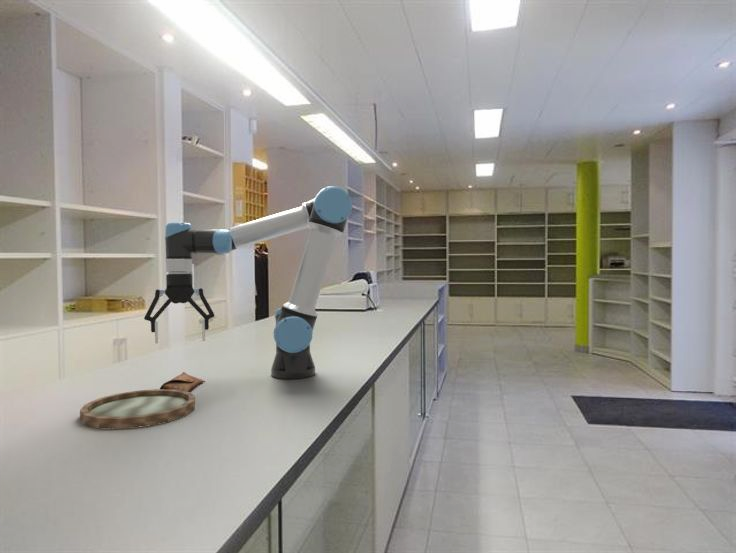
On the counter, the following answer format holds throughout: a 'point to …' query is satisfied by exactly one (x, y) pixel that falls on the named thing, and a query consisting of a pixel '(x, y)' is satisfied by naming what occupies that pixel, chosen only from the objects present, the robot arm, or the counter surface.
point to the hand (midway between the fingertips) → (180, 341)
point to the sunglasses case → (182, 383)
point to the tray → (137, 408)
